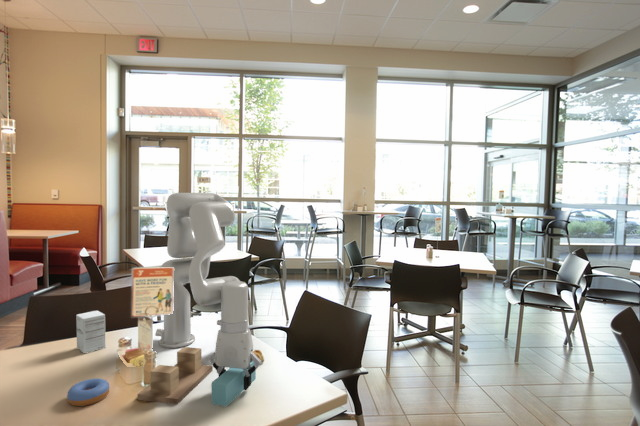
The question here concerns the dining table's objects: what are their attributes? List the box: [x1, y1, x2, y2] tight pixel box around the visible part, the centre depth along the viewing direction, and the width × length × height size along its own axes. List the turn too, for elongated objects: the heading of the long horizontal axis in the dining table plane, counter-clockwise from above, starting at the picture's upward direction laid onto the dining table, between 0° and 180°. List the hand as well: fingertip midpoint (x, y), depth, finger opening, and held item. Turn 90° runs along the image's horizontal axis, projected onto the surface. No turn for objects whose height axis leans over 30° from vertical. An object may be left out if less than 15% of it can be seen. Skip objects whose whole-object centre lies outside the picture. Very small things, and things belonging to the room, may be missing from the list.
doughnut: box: [66, 377, 110, 407], centre depth 104 cm, size 10×10×5 cm
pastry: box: [253, 349, 265, 365], centre depth 126 cm, size 9×7×4 cm
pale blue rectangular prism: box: [211, 361, 257, 407], centre depth 109 cm, size 4×16×6 cm, turn 161°
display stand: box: [137, 346, 214, 405], centre depth 112 cm, size 12×20×8 cm, turn 169°
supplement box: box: [75, 310, 107, 354], centre depth 137 cm, size 7×7×13 cm
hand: (234, 386), depth 109 cm, fingers open, 6 cm apart
